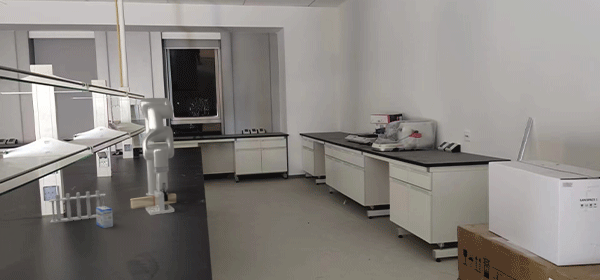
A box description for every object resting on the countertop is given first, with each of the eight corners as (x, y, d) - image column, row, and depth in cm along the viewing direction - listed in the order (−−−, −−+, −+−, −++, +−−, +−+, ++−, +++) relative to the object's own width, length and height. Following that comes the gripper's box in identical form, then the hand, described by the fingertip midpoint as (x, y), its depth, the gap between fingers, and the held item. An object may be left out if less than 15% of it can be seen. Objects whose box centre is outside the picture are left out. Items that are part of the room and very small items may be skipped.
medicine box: (96, 225, 204) (95, 207, 204) (106, 223, 208) (104, 205, 207) (103, 228, 199) (102, 209, 198) (113, 226, 202) (112, 208, 201)
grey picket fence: (50, 223, 210) (48, 196, 209) (51, 221, 214) (49, 194, 213) (107, 216, 221) (105, 190, 220) (106, 214, 225) (105, 189, 224)
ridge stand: (145, 209, 234) (144, 191, 233) (168, 206, 240) (167, 188, 239) (150, 215, 222) (149, 195, 221) (174, 211, 227) (173, 192, 227)
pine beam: (130, 207, 240) (130, 198, 239) (174, 201, 253) (173, 192, 253) (132, 209, 236) (132, 200, 236) (176, 202, 250) (176, 194, 249)
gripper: (151, 168, 251) (153, 198, 252) (157, 172, 236) (159, 203, 237) (165, 167, 255) (166, 196, 256) (171, 170, 240) (173, 201, 241)
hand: (163, 200), depth 246 cm, fingers open, 9 cm apart
